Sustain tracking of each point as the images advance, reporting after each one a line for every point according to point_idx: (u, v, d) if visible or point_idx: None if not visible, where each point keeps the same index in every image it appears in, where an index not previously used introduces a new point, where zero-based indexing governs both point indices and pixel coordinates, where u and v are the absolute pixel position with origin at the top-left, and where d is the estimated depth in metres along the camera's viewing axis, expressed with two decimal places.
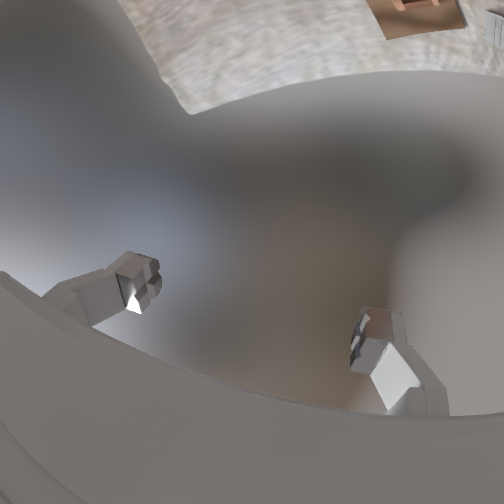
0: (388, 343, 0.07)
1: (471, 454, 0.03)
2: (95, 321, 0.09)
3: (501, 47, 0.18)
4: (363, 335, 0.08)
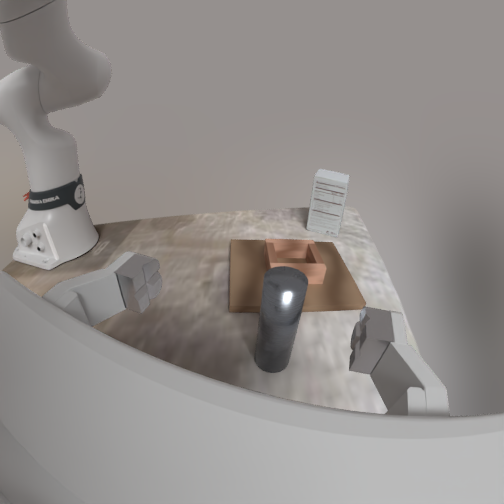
0: (388, 343, 0.07)
1: (470, 454, 0.03)
2: (95, 321, 0.09)
3: (342, 201, 0.53)
4: (363, 335, 0.08)
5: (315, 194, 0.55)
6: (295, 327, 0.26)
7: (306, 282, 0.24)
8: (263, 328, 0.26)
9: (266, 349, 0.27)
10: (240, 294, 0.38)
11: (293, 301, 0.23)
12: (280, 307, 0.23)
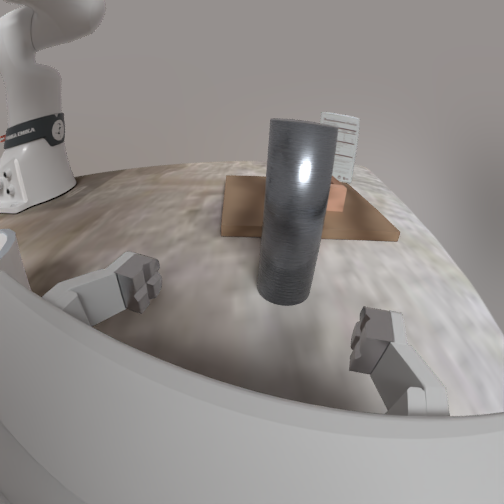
0: (388, 343, 0.07)
1: (470, 454, 0.03)
2: (95, 321, 0.09)
3: (355, 140, 0.44)
4: (363, 335, 0.08)
5: None
6: (323, 207, 0.16)
7: (335, 127, 0.14)
8: (271, 209, 0.16)
9: (276, 252, 0.17)
10: (236, 215, 0.29)
11: (320, 144, 0.13)
12: (300, 153, 0.14)
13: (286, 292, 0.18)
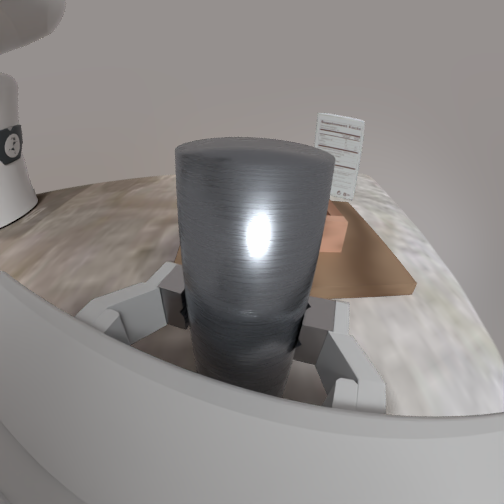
0: (326, 332, 0.08)
1: (470, 454, 0.03)
2: (133, 339, 0.09)
3: (359, 147, 0.36)
4: (302, 323, 0.08)
5: (320, 139, 0.37)
6: (294, 328, 0.08)
7: (328, 157, 0.06)
8: (194, 328, 0.08)
9: None
10: None
11: (285, 213, 0.05)
12: (230, 240, 0.06)
13: None
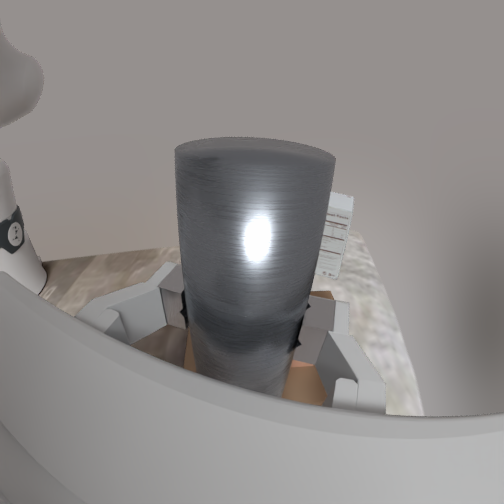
0: (326, 332, 0.08)
1: (470, 454, 0.03)
2: (133, 339, 0.09)
3: (345, 235, 0.40)
4: (302, 323, 0.08)
5: None
6: (294, 328, 0.08)
7: (328, 157, 0.06)
8: (193, 328, 0.08)
9: None
10: None
11: (284, 213, 0.05)
12: (230, 241, 0.06)
13: None
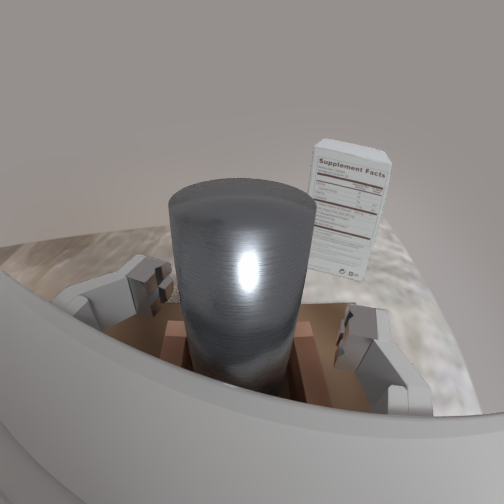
0: (371, 340, 0.07)
1: (471, 453, 0.03)
2: (105, 326, 0.09)
3: (379, 206, 0.22)
4: (346, 332, 0.08)
5: (317, 190, 0.24)
6: (282, 354, 0.09)
7: (310, 206, 0.07)
8: (193, 354, 0.09)
9: None
10: None
11: (266, 268, 0.06)
12: (220, 290, 0.07)
13: None
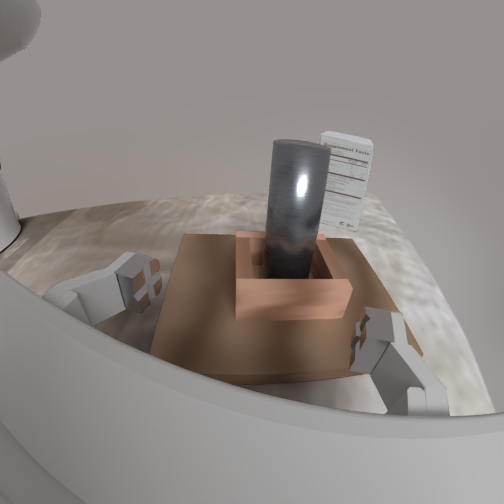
0: (388, 343, 0.07)
1: (471, 453, 0.03)
2: (96, 321, 0.09)
3: (366, 175, 0.32)
4: (363, 335, 0.08)
5: None
6: (317, 217, 0.19)
7: (329, 148, 0.17)
8: (273, 218, 0.19)
9: (277, 255, 0.20)
10: (173, 343, 0.17)
11: (315, 165, 0.16)
12: (298, 173, 0.17)
13: None
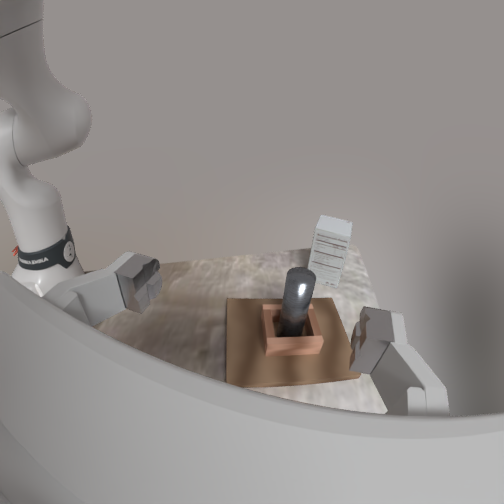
0: (388, 343, 0.07)
1: (470, 454, 0.03)
2: (96, 321, 0.09)
3: (344, 254, 0.51)
4: (363, 335, 0.08)
5: (316, 246, 0.53)
6: (307, 309, 0.38)
7: (315, 277, 0.36)
8: (285, 309, 0.38)
9: (286, 325, 0.39)
10: (237, 369, 0.36)
11: (307, 290, 0.35)
12: (298, 294, 0.36)
13: None
